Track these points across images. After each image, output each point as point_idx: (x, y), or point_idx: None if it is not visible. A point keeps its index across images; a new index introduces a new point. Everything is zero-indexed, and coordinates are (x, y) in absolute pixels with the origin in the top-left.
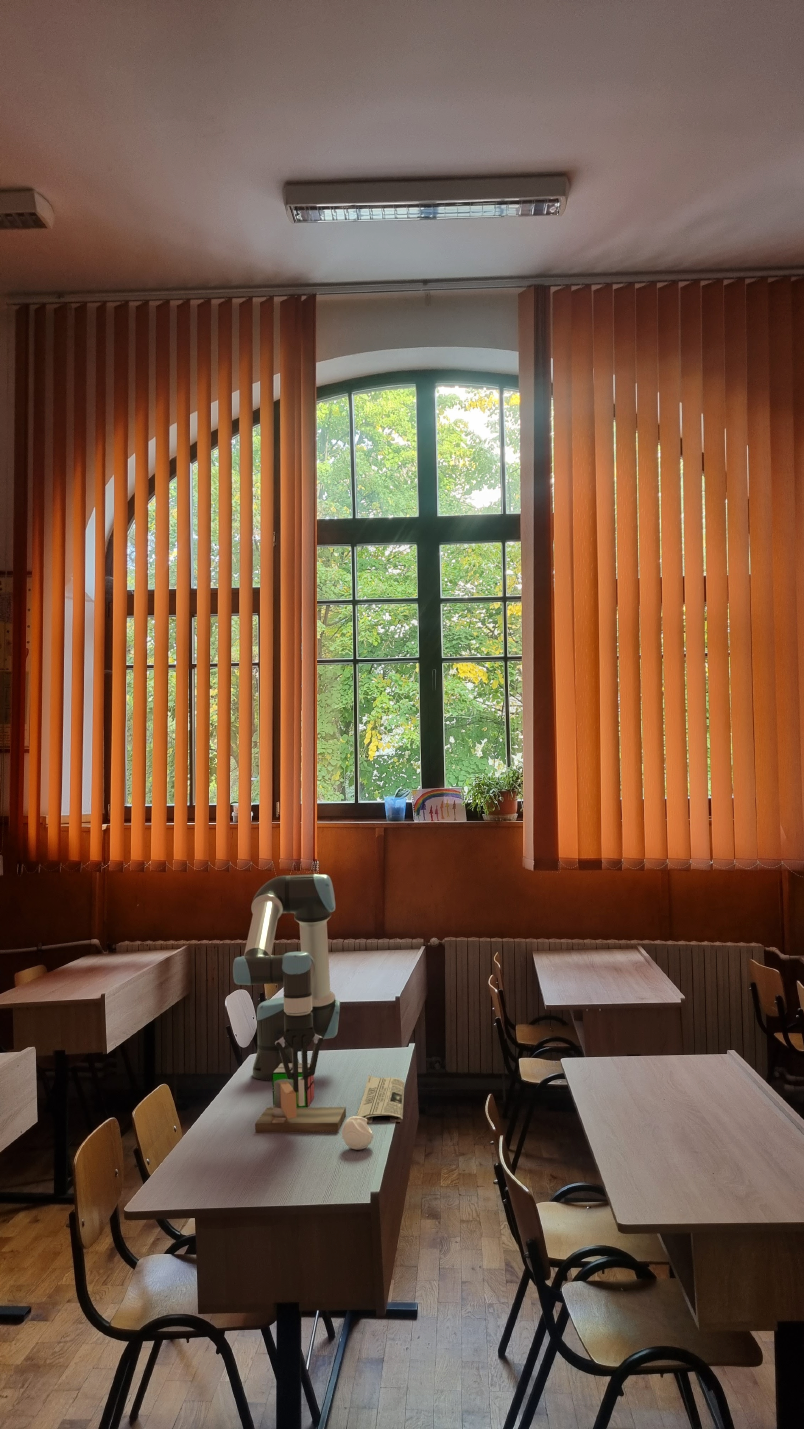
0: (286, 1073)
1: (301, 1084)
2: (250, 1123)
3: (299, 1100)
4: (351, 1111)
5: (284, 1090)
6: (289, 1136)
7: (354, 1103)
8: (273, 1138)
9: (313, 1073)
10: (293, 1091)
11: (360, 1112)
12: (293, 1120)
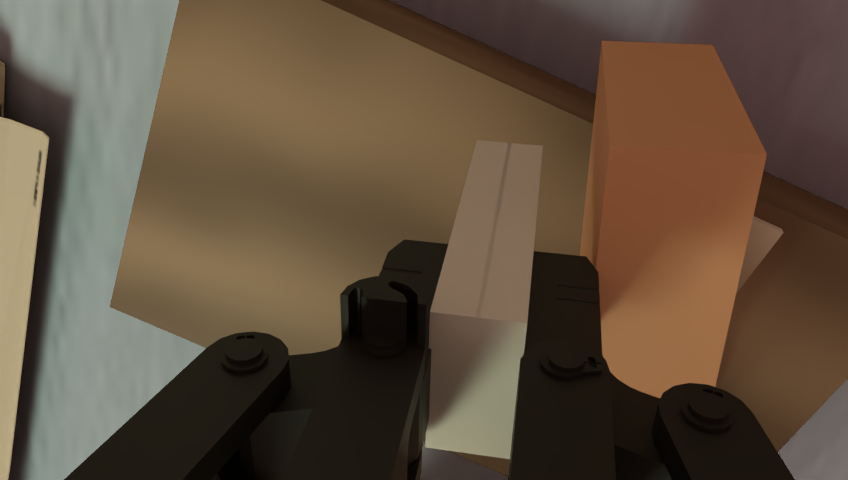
0: (781, 463)
1: (484, 274)
2: (841, 442)
3: (536, 173)
4: (102, 338)
5: (720, 348)
6: (665, 17)
7: (81, 454)
8: (822, 28)
9: (227, 345)
10: (615, 249)
11: (17, 218)
12: (580, 195)
